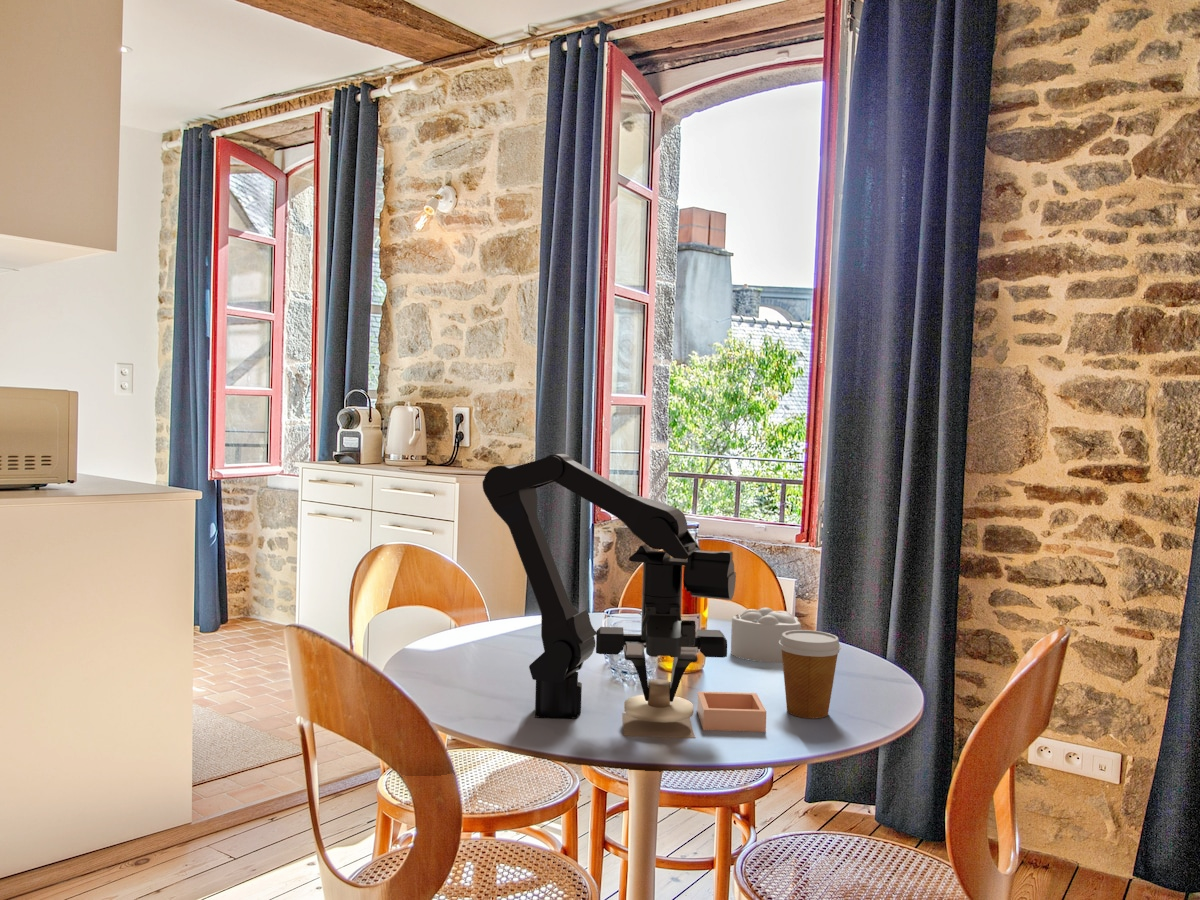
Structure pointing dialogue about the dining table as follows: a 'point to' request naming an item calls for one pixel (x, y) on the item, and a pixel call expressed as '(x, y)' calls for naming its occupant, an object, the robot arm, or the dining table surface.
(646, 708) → the lid
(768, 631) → the lumpy-topped squat cylinder
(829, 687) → the disposable coffee cup
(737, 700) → the dish
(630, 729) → the mat
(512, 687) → the dining table surface
